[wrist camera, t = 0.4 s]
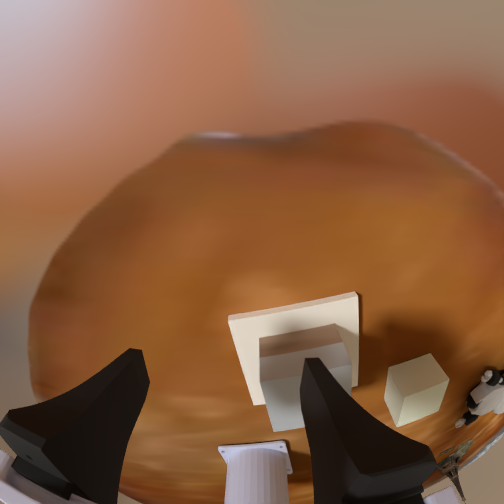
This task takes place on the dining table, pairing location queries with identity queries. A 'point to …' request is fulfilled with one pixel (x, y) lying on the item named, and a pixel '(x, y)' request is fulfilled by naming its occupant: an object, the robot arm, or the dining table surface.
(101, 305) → the dining table surface
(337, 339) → the walnut slab
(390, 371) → the sage block
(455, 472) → the eiffel tower figurine
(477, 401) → the robot toy
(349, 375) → the light grey flat block
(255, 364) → the cream board
